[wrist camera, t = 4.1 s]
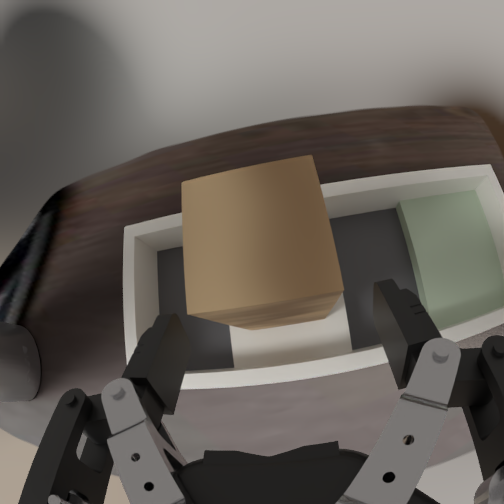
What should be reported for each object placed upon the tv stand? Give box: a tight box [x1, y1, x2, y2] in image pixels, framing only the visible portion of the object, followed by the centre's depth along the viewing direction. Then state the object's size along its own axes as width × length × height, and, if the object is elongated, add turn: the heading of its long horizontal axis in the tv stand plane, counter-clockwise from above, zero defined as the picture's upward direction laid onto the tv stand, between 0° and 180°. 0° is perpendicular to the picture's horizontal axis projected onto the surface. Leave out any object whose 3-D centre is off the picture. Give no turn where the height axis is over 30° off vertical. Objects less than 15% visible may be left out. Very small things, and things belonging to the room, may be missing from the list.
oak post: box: [182, 155, 344, 330], centre depth 15 cm, size 5×5×11 cm
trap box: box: [123, 164, 504, 389], centre depth 19 cm, size 30×12×4 cm, turn 98°
